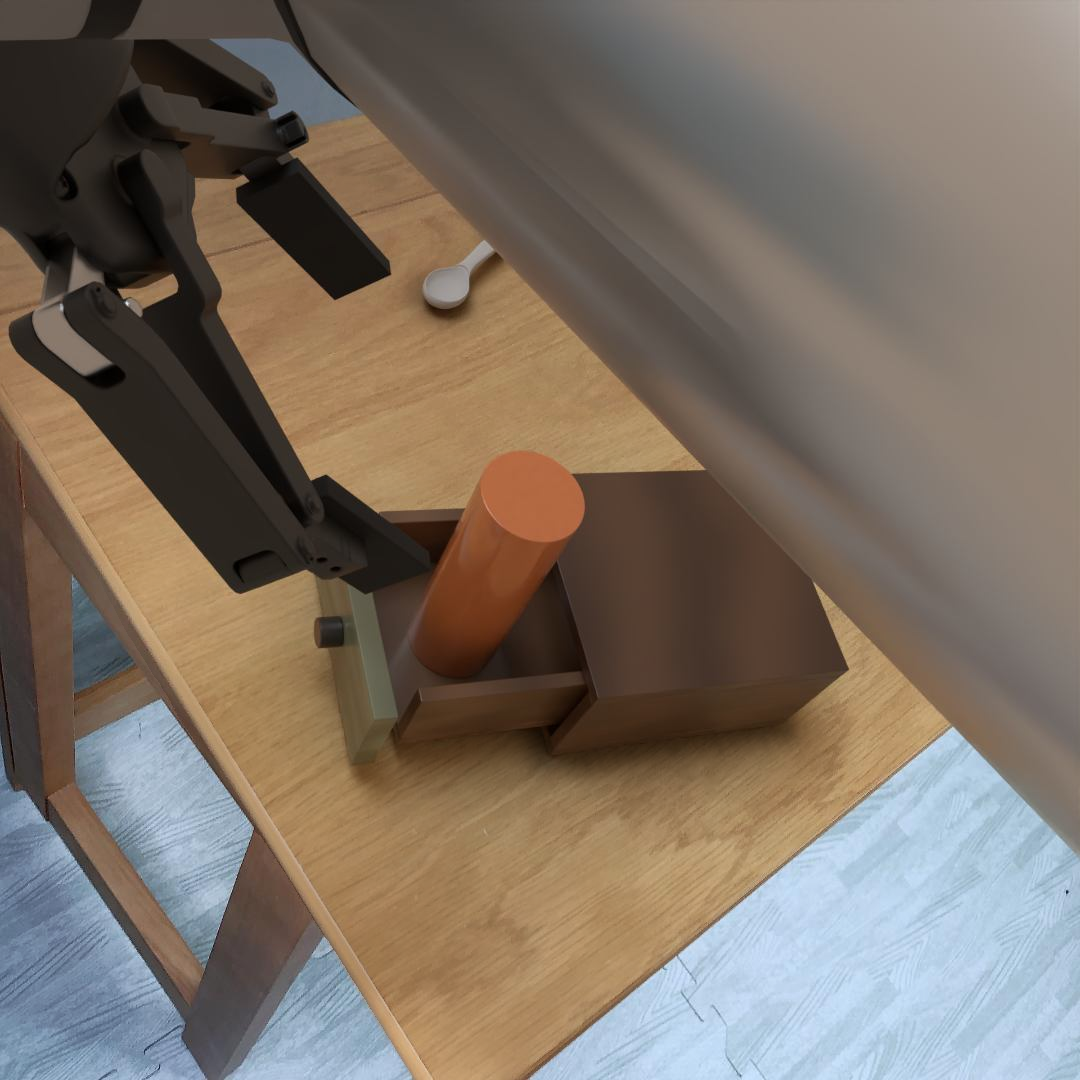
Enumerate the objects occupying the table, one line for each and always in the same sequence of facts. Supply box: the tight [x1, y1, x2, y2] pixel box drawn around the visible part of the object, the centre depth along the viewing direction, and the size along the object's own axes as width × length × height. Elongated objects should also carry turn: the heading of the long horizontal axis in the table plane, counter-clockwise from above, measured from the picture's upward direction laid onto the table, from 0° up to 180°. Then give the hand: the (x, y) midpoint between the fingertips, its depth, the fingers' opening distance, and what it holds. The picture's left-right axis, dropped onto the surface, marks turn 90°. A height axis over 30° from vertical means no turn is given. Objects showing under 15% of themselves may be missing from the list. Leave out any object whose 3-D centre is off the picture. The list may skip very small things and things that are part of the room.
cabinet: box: [540, 469, 850, 756], centre depth 67 cm, size 16×14×8 cm
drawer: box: [313, 507, 589, 766], centre depth 62 cm, size 16×12×6 cm
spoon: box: [422, 239, 497, 310], centre depth 82 cm, size 3×12×2 cm, turn 149°
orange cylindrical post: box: [408, 450, 585, 678], centre depth 58 cm, size 5×5×14 cm
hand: (378, 417), depth 44 cm, fingers open, 13 cm apart
